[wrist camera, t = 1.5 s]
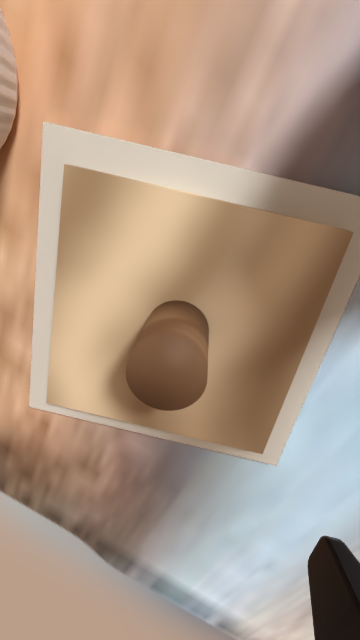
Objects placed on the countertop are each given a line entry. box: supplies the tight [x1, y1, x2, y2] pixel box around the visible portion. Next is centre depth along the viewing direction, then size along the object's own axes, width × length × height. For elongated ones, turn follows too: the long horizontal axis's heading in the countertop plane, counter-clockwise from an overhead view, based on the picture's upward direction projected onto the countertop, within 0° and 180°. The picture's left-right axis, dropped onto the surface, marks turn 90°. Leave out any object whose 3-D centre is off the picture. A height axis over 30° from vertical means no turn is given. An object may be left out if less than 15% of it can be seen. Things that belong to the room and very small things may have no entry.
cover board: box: [46, 164, 354, 454], centre depth 16 cm, size 13×13×6 cm
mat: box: [29, 121, 360, 466], centre depth 18 cm, size 16×16×1 cm
